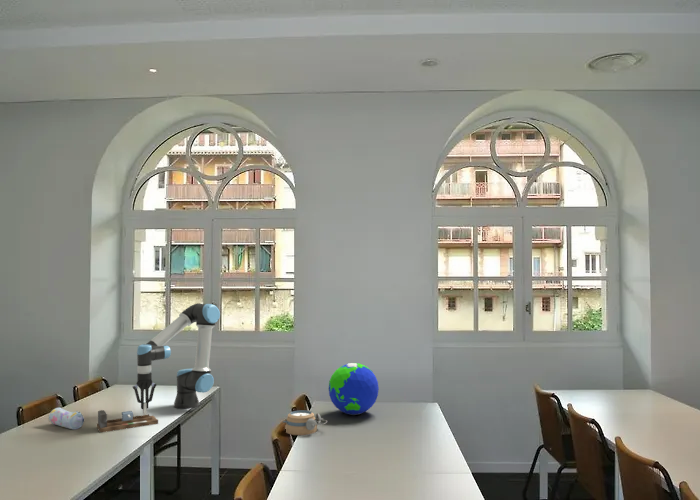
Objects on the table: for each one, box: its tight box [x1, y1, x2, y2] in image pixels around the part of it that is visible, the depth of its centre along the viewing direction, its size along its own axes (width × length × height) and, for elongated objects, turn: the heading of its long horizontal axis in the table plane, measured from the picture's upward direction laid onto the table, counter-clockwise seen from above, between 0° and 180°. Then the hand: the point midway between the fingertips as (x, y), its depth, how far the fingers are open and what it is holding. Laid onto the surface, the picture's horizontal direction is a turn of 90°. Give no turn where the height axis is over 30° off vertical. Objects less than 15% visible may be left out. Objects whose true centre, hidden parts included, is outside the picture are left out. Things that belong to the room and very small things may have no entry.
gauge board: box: [96, 409, 159, 433], centre depth 312 cm, size 30×12×9 cm, turn 122°
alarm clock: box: [282, 409, 328, 436], centre depth 299 cm, size 17×9×23 cm
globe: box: [328, 362, 379, 416], centre depth 332 cm, size 30×30×30 cm
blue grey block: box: [121, 410, 134, 421], centre depth 310 cm, size 5×9×5 cm, turn 32°
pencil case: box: [48, 406, 85, 430], centre depth 311 cm, size 21×9×10 cm, turn 60°
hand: (144, 414), depth 317 cm, fingers closed
